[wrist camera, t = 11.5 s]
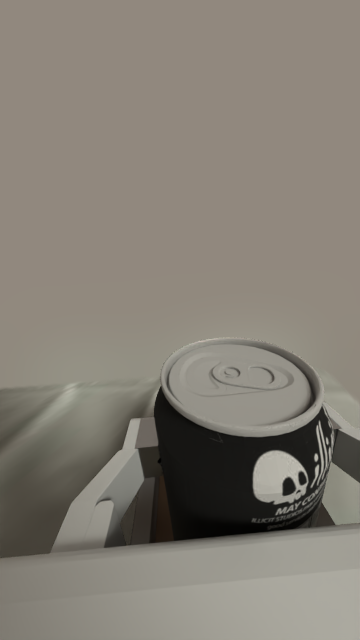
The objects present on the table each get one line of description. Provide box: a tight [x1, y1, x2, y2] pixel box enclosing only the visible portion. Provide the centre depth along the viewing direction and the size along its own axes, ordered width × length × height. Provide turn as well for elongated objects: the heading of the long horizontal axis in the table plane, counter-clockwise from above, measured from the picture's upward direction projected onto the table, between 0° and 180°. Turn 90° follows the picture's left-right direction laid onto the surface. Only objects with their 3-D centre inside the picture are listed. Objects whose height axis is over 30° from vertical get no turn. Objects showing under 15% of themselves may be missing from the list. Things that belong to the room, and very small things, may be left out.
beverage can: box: [154, 337, 334, 541], centre depth 9 cm, size 7×7×12 cm
